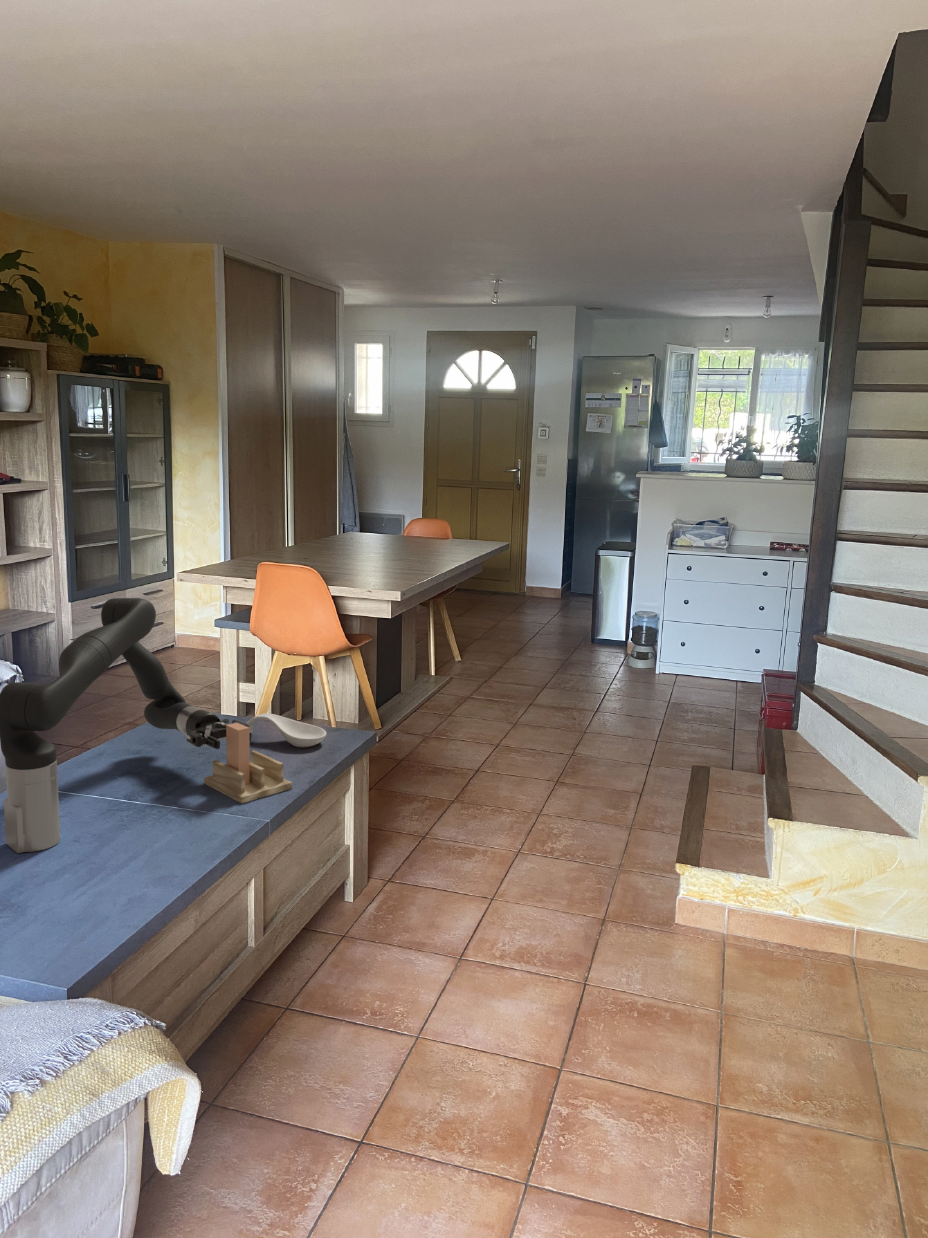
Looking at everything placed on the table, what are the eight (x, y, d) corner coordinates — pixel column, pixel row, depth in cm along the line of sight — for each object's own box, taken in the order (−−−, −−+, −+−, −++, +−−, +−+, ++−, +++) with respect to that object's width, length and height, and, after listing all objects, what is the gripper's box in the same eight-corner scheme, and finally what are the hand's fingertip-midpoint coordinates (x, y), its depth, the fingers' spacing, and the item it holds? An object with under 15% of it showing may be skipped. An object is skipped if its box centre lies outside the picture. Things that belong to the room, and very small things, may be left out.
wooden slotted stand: (241, 803, 207) (241, 778, 206) (204, 783, 217) (204, 759, 216) (292, 788, 217) (292, 764, 216) (253, 769, 228) (253, 747, 226)
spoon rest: (332, 740, 253) (332, 715, 252) (316, 754, 242) (316, 728, 240) (254, 731, 258) (254, 706, 256) (234, 743, 247) (234, 718, 245)
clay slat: (238, 787, 212) (238, 730, 209) (226, 781, 215) (226, 725, 213) (249, 784, 214) (249, 727, 212) (237, 778, 218) (237, 722, 215)
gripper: (171, 715, 219) (207, 732, 208) (223, 704, 229) (260, 720, 218) (172, 744, 221) (208, 762, 210) (223, 732, 231) (260, 749, 220)
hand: (234, 741), depth 214 cm, fingers open, 8 cm apart
